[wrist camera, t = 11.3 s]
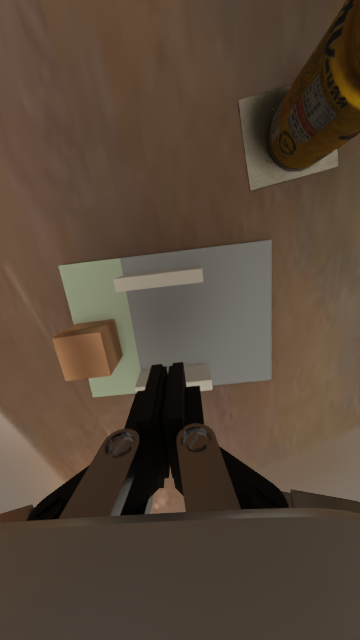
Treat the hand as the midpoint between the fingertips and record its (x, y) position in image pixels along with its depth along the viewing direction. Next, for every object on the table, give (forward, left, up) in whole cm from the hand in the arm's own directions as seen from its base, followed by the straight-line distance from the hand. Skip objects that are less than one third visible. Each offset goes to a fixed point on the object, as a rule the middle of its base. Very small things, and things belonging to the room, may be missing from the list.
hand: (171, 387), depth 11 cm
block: (+9, +1, -13) cm, 16 cm away
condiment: (-13, -16, -14) cm, 25 cm away
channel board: (0, +1, -14) cm, 14 cm away
